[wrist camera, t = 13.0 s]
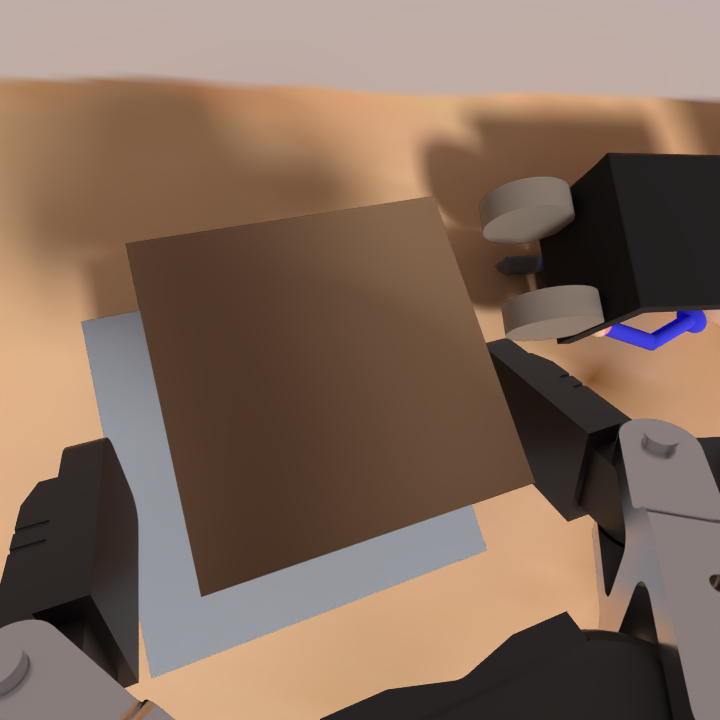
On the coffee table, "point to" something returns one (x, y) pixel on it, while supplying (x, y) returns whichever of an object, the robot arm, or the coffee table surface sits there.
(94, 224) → the coffee table surface
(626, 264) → the figurine character
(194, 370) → the walnut block
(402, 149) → the coffee table surface
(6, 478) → the coffee table surface
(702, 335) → the coffee table surface
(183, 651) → the blue-grey square slab
